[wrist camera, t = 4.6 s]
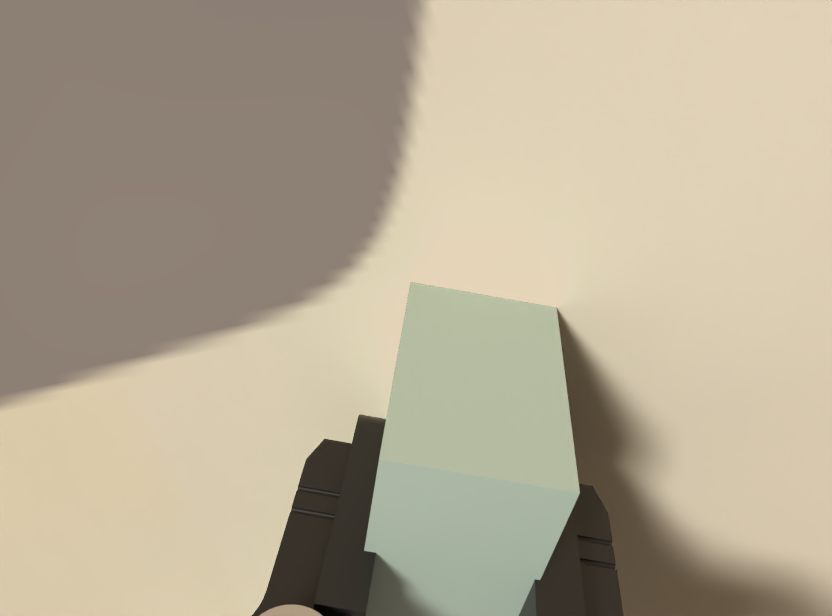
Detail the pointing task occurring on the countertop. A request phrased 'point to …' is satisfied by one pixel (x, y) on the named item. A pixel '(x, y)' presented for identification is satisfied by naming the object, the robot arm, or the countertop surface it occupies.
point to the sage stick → (471, 458)
